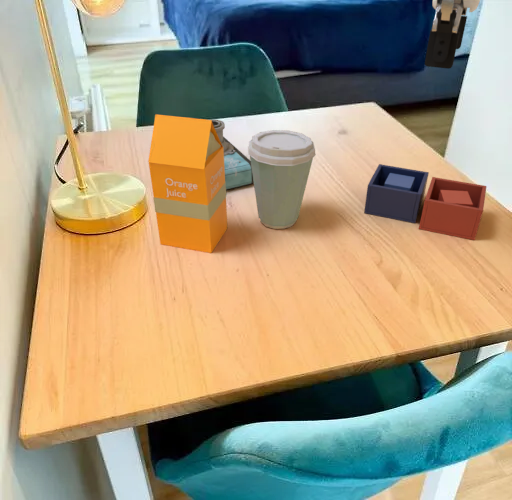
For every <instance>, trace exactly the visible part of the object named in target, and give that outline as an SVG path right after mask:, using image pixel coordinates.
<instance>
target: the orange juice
mask: <svg viewBox="0 0 512 500" xmlns="http://www.w3.org/2000/svg"><path fill="white" fill-rule="evenodd" d="M212 120H213V119H205V118H204V119H203V118H194V117H185V116H177V115H176V116H175V115H165V114H157V113H155V115H154V122H153V128H152V136H151V142H150V147H149V155H148V161H147V162H148V167H149V175H150V183H151V188H152V196H153V197H152V198H153V204H154V211H155V216H156V223H157V231H158V236H159V243H160V245H162V246H167V247H174V248H180V249H185V250H192V251H197V252H202V253H209V254H212V253H213V251H214V250H215V248H216V247H217V245H218V244H219V242H220V241H221V239H222V238H223V236H224V235H225V233H226V231H227V230H228V228H229V227H228V211H227V210H228V209H227V189H226V182H225V169H224V149H223V147H222V144H221V142H220V140H219V137H218V135H217V133H216V130H215V128H214V126H213V124H212Z"/></svg>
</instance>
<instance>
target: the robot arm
mask: <svg viewBox="0 0 512 500" xmlns="http://www.w3.org/2000/svg"><path fill="white" fill-rule="evenodd" d="M480 2H481V0H432V8H433V9H434V10H435V15H434V19H433V21H432V27H431V29H430V31H429V37H428V42H427V47H426V54H425V60H424V66H425V67H427V68H428V67H430V68H440V69H451V68H452V67H453V66H454V61H455V56H456V52H457V50H459V49H461V46H462V44H463V43H462V42H463V37H464V33H465V29H466V25H467V24H466V23H467V19H468V15H467V13H468V12H469V13H473V12H475V11H476V10H477V9H478V6H479V4H480ZM468 9H469V11H468Z"/></svg>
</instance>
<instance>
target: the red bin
mask: <svg viewBox="0 0 512 500" xmlns="http://www.w3.org/2000/svg"><path fill="white" fill-rule="evenodd" d="M440 190H454V191H468V193H469V196H470V198H471V201H472V203H473V206H472V207H469V206H464V205H458V204H453V203H448V202H442V201H438V198H439V194H440ZM486 193H487V185H483V184H477V183H472V182H465V181H459V180H454V179H448V178H441V177H436V176H432V177H431V181H430V183H429V186H428V189H427V192H426V196H425V197H424V200H423V207H422V211H421V217H420V221H419V227H418V230H422V231H427V232H432V233H437V234H441V235H447V236H451V237H455V238H456V237H457V238H460V239H467V240H471V241H475V240H476V237H477V233H478V230H479V228H480V227H479V226H480V224H481V219H482V216H483V213H484V208H485V199H486Z"/></svg>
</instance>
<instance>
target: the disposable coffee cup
mask: <svg viewBox="0 0 512 500" xmlns="http://www.w3.org/2000/svg"><path fill="white" fill-rule="evenodd" d="M247 155H249V160H250V161H251V167H252V174H253V181H254V183H253V188H254V194H255V201H256V209H257V214H258V217H257V218H258V219H259V221H260V223H261V224H262V225H263V226H265V227H267V228H270V229H273V230H285V229H287V228H291V227H293V225H295V224H296V222H297V220H298V218H299V216H300V212H301V207H302V204H303V200H304V195H305V191H306V188H307V184H308V180H309V175H310V171H311V168H312V163H313V160H314V157H316V147H315V144H314V141H313V140H312V138H311V137H309V136H307V135H306V134H303V133H302V132H298V131H294V130H287V129H284V130H283V129H270V130H266V131H260V132H258V133H256V134H254V135H252V137H251V139H250V140H249V141H248V146H247Z"/></svg>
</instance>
